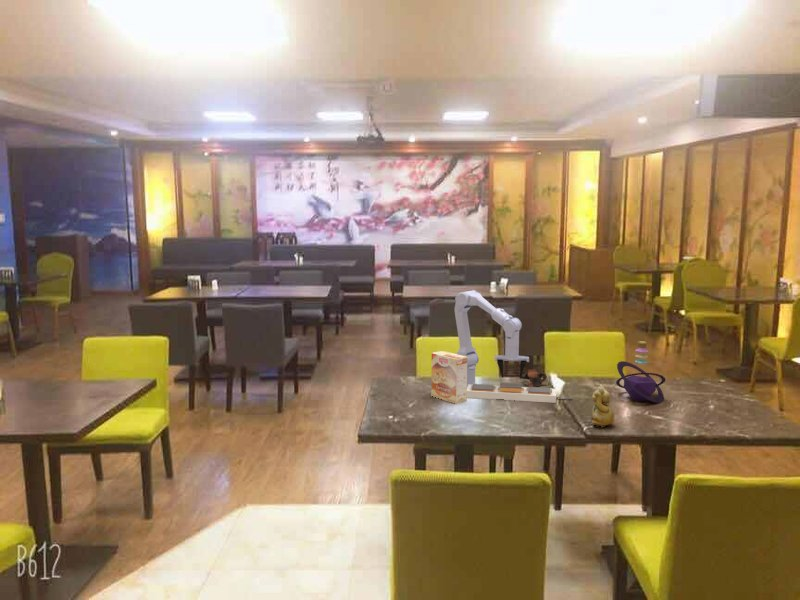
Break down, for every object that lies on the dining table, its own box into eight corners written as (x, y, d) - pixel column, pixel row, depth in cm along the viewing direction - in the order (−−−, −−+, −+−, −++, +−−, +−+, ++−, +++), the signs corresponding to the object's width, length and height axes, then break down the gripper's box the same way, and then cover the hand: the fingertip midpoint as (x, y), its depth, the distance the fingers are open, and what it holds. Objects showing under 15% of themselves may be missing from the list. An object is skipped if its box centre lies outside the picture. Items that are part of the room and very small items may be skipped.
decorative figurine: (592, 419, 247) (593, 381, 245) (614, 422, 244) (616, 384, 242) (589, 427, 239) (591, 388, 236) (613, 430, 236) (614, 390, 233)
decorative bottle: (657, 410, 259) (660, 349, 255) (605, 400, 271) (608, 343, 268) (672, 397, 276) (675, 340, 273) (623, 388, 289) (625, 334, 285)
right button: (528, 395, 272) (528, 391, 272) (528, 391, 279) (528, 386, 279) (550, 397, 270) (550, 392, 270) (549, 392, 277) (550, 387, 277)
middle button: (499, 391, 274) (499, 386, 274) (500, 386, 281) (500, 382, 281) (521, 392, 273) (521, 387, 272) (521, 387, 280) (521, 383, 279)
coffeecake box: (430, 396, 278) (430, 352, 275) (442, 393, 283) (442, 350, 280) (455, 404, 267) (456, 358, 264) (467, 401, 272) (467, 356, 269)
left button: (471, 392, 277) (471, 388, 277) (473, 388, 284) (473, 383, 284) (493, 394, 275) (493, 389, 275) (494, 389, 282) (494, 385, 282)
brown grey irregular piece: (522, 388, 291) (518, 371, 294) (524, 392, 300) (520, 375, 303) (548, 383, 289) (544, 365, 292) (549, 387, 298) (545, 370, 301)
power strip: (465, 397, 276) (466, 391, 275) (468, 390, 286) (468, 384, 286) (573, 403, 267) (573, 396, 267) (571, 396, 278) (571, 389, 277)
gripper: (494, 347, 272) (494, 378, 274) (529, 349, 270) (528, 380, 272) (495, 344, 279) (494, 374, 281) (529, 345, 277) (528, 376, 278)
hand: (511, 377), depth 277 cm, fingers open, 7 cm apart
